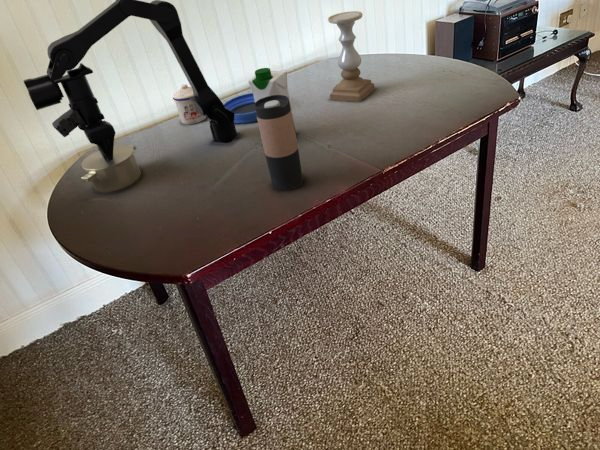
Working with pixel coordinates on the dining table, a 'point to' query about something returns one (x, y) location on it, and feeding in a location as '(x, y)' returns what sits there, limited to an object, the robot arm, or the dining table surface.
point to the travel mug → (279, 141)
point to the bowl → (242, 108)
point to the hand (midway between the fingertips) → (106, 154)
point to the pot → (114, 176)
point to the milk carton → (269, 84)
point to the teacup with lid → (187, 106)
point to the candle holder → (349, 61)
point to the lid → (100, 161)
